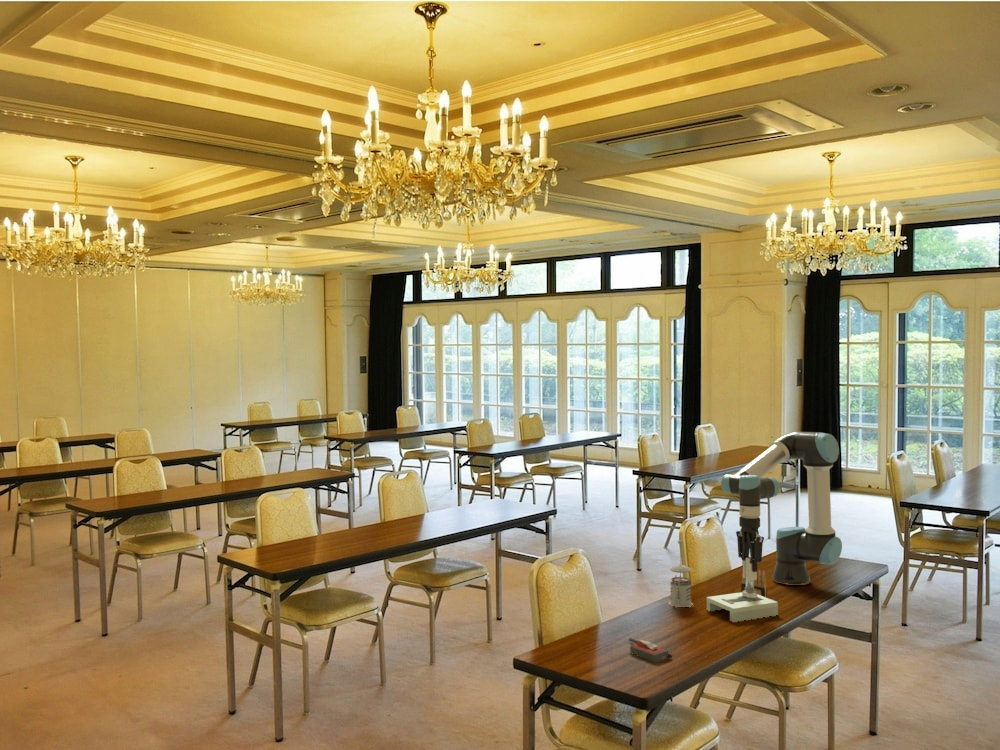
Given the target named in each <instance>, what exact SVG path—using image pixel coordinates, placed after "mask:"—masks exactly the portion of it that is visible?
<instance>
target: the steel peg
mask: <svg viewBox="0 0 1000 750" xmlns="http://www.w3.org/2000/svg"><path fill="white" fill-rule="evenodd" d="M745 559H746V590H744V591H742V597H743V598H745V599H753V600H754V599H757V592H756V591H754V580H749V563H750V562H751V556H749V557H745Z"/></svg>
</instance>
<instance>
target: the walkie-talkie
mask: <svg viewBox="0 0 1000 750" xmlns="http://www.w3.org/2000/svg"><path fill="white" fill-rule="evenodd" d="M628 640H629V642H630V643H631V642H632V643H634V644H631V645H630V647H629V649H630V652H631V653H633V654H636V655H638V656H641V657H643V658H642V659H644V658H645V659H644V660H646V659H648V660H647V661H649V660H650V662H651V661H653V662H652V663H654V662H658V663H660V661H661V662H664V661H667V660H669V659H672V658H673V655H672V654H670V653H669V650H666V649H663V648H660V647H659V646H658V645H656V644H654V643H652V642H650V641H647V640H646V639H640V640H637V639H634V638H631V637H630V638H629V639H628ZM631 653H630V654H631ZM633 654H632V655H633ZM636 655H635V656H636ZM638 656H637V657H638ZM641 657H640V658H641ZM666 659H667V660H666ZM663 660H664V661H663Z"/></svg>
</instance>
